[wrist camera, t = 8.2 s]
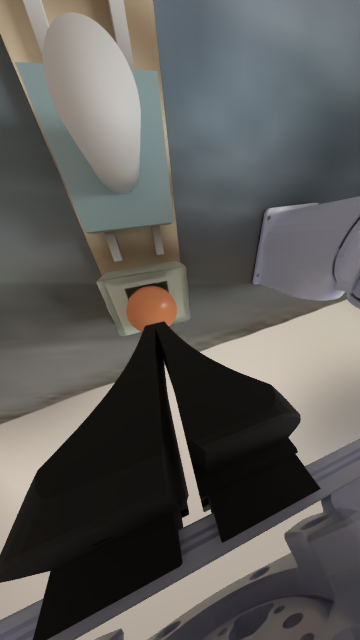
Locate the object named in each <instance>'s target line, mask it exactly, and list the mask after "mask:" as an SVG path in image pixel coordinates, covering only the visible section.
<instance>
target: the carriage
mask: <svg viewBox="0 0 360 640" xmlns="http://www.w3.org/2000/svg"><path fill="white" fill-rule="evenodd" d="M15 64H16V66H17V69H18V71H19V74H20V76H21V78H22V81H23V83H24V86H25V88H26V91H27V93H28V95H29V98H30V100H31V103H32V105H33V108H34V110H35V112H36V115H37V117H38V120H39V122H40V124H41V127H42V129H43V132H44V134H45V137H46V139H47V141H48V144H49V146H50V149H51V151H52V154H53V156H54V158H55V161H56V163H57V166H58V168H59V170H60V173H61V175H62V178H63V180H64V183H65V185H66V187H67V190H68V192H69V195H70V197H71V199H72V202H73V204H74V207H75V209H76V212H77V214H78V216H79V219H80V221H81V224H82V226H83V229H84V231H85V233H91V234H98V233H102V232H110V231H118V230H126V229H135V228H143V227H151V226H159V225H162V226H163V225H169V224H171V223H173V222H174V218H173V209H172V200H171V191H170V182H169V173H168V164H167V155H166V147H165V138H164V129H163V120H162V111H161V102H160V93H159V84H158V75H157V71H147V70H131V69H130V67H129V64H128V62H127V60H126V58H125V57H124V55H123V53H122V51H121V50H120V48H119V46H118V45H117V43H116V42H115V41H114V39H113V38H112V37H111V36H110V35H109V33H108V32H107V31H106V30H105V29H104V28H103V27H102V26H100V25H99V24H98V23H97V22H96V21H94V20H93V19H91V18H89V17H87V16H85V15H83V14H79V13H75V12H68V13H64V14H61V15H60V16H58V17H57V18H55V20H54V21H53V22H52V23H51V24H50V26H49V28H48V30H47V33H46V36H45V39H44V45H43V64H40V63H25V62H15Z"/></svg>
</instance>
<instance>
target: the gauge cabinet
mask: <svg viewBox="0 0 360 640" xmlns="http://www.w3.org/2000/svg"><path fill="white" fill-rule="evenodd" d="M163 281H166V282H167V288H168V292H169V293H170V294H171V296H172V297H173V299H174V301H175V303H176V306H177V315H176V318H175V320H174V322H173V323H172V324H175V323H179V322H183V321H187V320H191V318H190V306H189V294H188V282H187V271H186V266H185V265H183V264H181V263H179V262H178V261H171V262H165V263H159V264H153V265H148V266H142V267H136V268H130V269H124V270H118V271H112V272H106V273H105V274H104V275H103V276H102V277H101V278H100V279H99V280H98V281H97V282H96V283H97V285H98V287H99V290H100V292H101V294H102V296H103V299H104V301H105V303H106V306H107V311H109V313H110V315H111V316H112V318H113V321H114V323H115V325H116V327H117V330H118V332H119V334H120V336H121V337H122V336H126V335H130V334H134V333H138V332H141V331H139V330H137V329H136V328H134V327H133V326H132V325H131V324H130V322H129V320H128V318H127V304H128V301H129V298H128V295H127V292H126V288H132V287H137V286H142V285H147V284H153V283H158V282H163Z"/></svg>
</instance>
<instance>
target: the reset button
mask: <svg viewBox="0 0 360 640" xmlns="http://www.w3.org/2000/svg"><path fill="white" fill-rule="evenodd" d="M176 315H177V306H176V303H175V301H174V299H173V297H172V296H171V294H170V293H169V292H168V291H166V290H165V289H163V288H161V287H159V286H158V285H157V284H155V283H153V284H147V285H142V286H139V287H138V288H137V289H136V291H135V292H134V293H133V294H132V295H131V297H130V298H129V301H128V304H127V318H128V320H129V322H130V324H131V325H132V326H133V327H134V328H136V329H137V330H139V331H141V332H143V330H144V327H145V326H146V325H150V324H154V323H159V322H163V321H164V322H166V324H167V325H168V326H170V325H171V324H172V323H173V322H174V320H175V318H176Z"/></svg>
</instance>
